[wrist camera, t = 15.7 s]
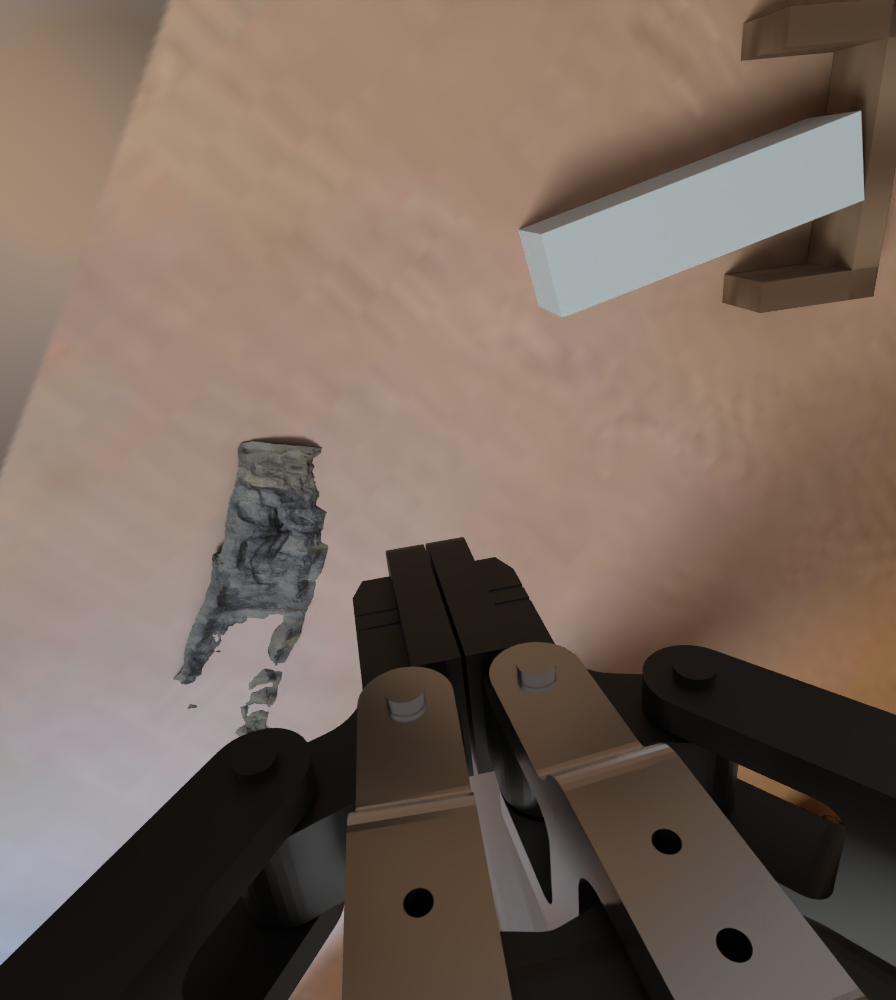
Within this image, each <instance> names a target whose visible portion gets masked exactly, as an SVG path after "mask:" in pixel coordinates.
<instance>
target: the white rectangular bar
mask: <svg viewBox="0 0 896 1000" xmlns="http://www.w3.org/2000/svg"><path fill="white" fill-rule="evenodd" d="M863 200H864V173H863V147H862V120H861V111H855V112H848V113H841V114H834V115H826V116H819V117H812V118H807V119H804V120H802V121H799V122H797V123H794V124H791V125H789V126H786V127H784V128H781V129H778V130H776V131H773V132H771V133H768V134H765V135H763V136H760V137H758V138H755V139H752V140H750V141H747V142H745V143H742V144H740V145H737V146H734V147H732V148H729V149H727V150H724V151H721V152H719V153H716V154H714V155H711V156H708V157H706V158H703V159H701V160H698V161H695V162H693V163H690V164H688V165H685V166H682V167H680V168H677V169H675V170H672V171H669V172H667V173H664V174H662V175H659V176H657V177H654V178H651V179H649V180H646V181H644V182H641V183H638V184H636V185H633V186H631V187H628V188H625V189H623V190H620V191H618V192H615V193H612V194H610V195H607V196H605V197H602V198H599V199H597V200H594V201H592V202H589V203H587V204H584V205H581V206H579V207H576V208H574V209H571V210H568V211H566V212H563V213H561V214H558V215H555V216H553V217H550V218H548V219H545V220H542V221H540V222H537V223H535V224H532V225H529V226H527V227H524V228H522V229H519V234H520V238H521V241H522V245H523V249H524V253H525V256H526V260H527V264H528V268H529V271H530V275H531V279H532V283H533V286H534V290H535V294H536V298H537V301H538V305H539V306H540V307H542V308H544V309H546V310H548V311H550V312H552V313H554V314H556V315H558V316H560V317H562V318H563V317H566V316H568V315H571V314H573V313H576V312H578V311H581V310H584V309H586V308H589V307H591V306H594V305H596V304H599V303H601V302H604V301H607V300H609V299H612V298H614V297H617V296H619V295H622V294H625V293H627V292H630V291H632V290H635V289H637V288H640V287H643V286H645V285H648V284H650V283H653V282H655V281H658V280H660V279H663V278H666V277H668V276H671V275H673V274H676V273H678V272H681V271H684V270H686V269H689V268H691V267H694V266H696V265H699V264H702V263H704V262H707V261H709V260H712V259H714V258H717V257H720V256H722V255H725V254H727V253H730V252H732V251H735V250H737V249H740V248H743V247H745V246H748V245H750V244H753V243H755V242H758V241H761V240H763V239H766V238H768V237H771V236H773V235H776V234H779V233H781V232H784V231H786V230H789V229H791V228H794V227H796V226H799V225H802V224H804V223H807V222H809V221H812V220H814V219H817V218H820V217H822V216H825V215H827V214H830V213H832V212H835V211H838V210H840V209H843V208H845V207H848V206H850V205H853V204H856V203H858V202H861V201H863Z"/></svg>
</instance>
